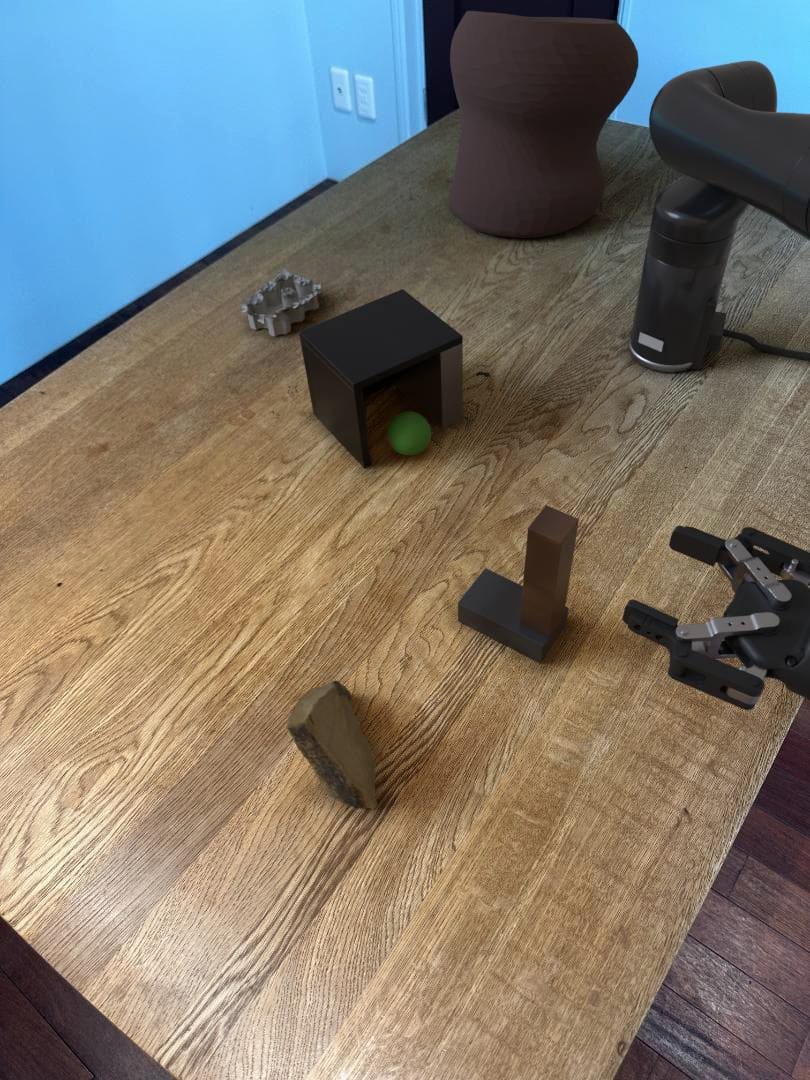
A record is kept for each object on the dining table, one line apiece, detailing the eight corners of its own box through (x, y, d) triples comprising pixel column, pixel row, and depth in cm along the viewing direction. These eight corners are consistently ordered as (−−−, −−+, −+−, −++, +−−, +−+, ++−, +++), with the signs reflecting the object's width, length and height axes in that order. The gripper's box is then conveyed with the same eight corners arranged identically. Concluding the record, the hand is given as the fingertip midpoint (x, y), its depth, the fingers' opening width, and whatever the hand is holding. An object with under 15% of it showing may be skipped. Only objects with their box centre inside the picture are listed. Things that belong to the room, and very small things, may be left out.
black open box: (463, 420, 98) (462, 335, 88) (364, 468, 93) (353, 384, 84) (408, 371, 104) (402, 288, 95) (313, 414, 100) (298, 331, 91)
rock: (298, 663, 73) (245, 753, 66) (347, 626, 67) (294, 720, 60) (389, 733, 75) (347, 827, 68) (444, 703, 69) (404, 802, 62)
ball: (437, 439, 95) (436, 406, 92) (423, 468, 92) (421, 434, 89) (397, 432, 97) (394, 399, 93) (382, 459, 94) (379, 426, 90)
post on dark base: (566, 626, 77) (585, 511, 65) (540, 664, 74) (555, 551, 62) (484, 586, 81) (488, 470, 69) (457, 621, 78) (456, 506, 66)
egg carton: (280, 342, 110) (274, 316, 107) (239, 325, 114) (233, 300, 110) (328, 303, 116) (324, 277, 113) (288, 288, 119) (283, 263, 116)
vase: (629, 240, 123) (667, 13, 100) (451, 248, 124) (448, 25, 102) (603, 161, 140) (630, -47, 118) (447, 169, 142) (444, -36, 119)
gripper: (924, 565, 56) (695, 479, 62) (869, 721, 48) (615, 605, 55) (882, 628, 61) (676, 544, 68) (827, 777, 54) (601, 666, 60)
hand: (649, 571), depth 61 cm, fingers open, 8 cm apart
